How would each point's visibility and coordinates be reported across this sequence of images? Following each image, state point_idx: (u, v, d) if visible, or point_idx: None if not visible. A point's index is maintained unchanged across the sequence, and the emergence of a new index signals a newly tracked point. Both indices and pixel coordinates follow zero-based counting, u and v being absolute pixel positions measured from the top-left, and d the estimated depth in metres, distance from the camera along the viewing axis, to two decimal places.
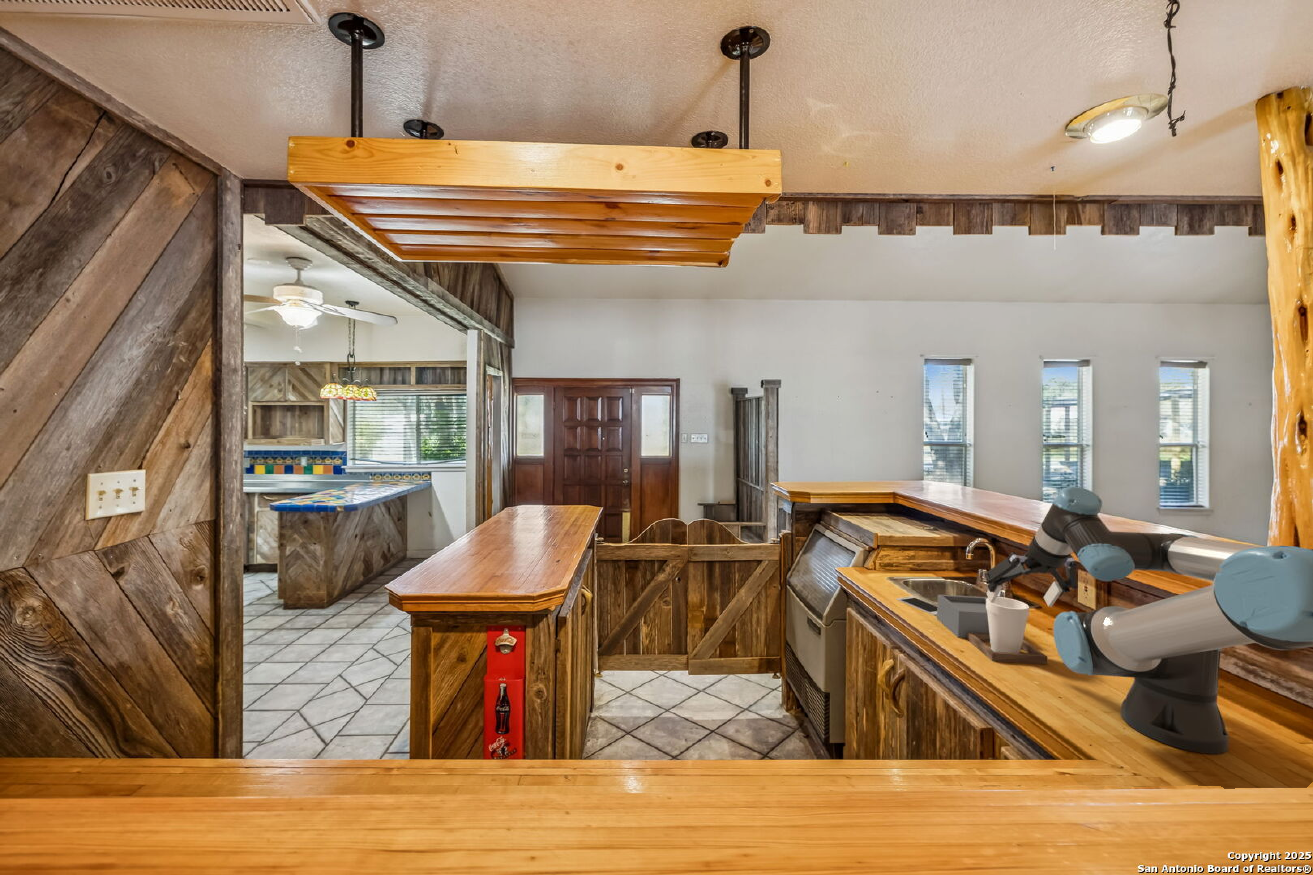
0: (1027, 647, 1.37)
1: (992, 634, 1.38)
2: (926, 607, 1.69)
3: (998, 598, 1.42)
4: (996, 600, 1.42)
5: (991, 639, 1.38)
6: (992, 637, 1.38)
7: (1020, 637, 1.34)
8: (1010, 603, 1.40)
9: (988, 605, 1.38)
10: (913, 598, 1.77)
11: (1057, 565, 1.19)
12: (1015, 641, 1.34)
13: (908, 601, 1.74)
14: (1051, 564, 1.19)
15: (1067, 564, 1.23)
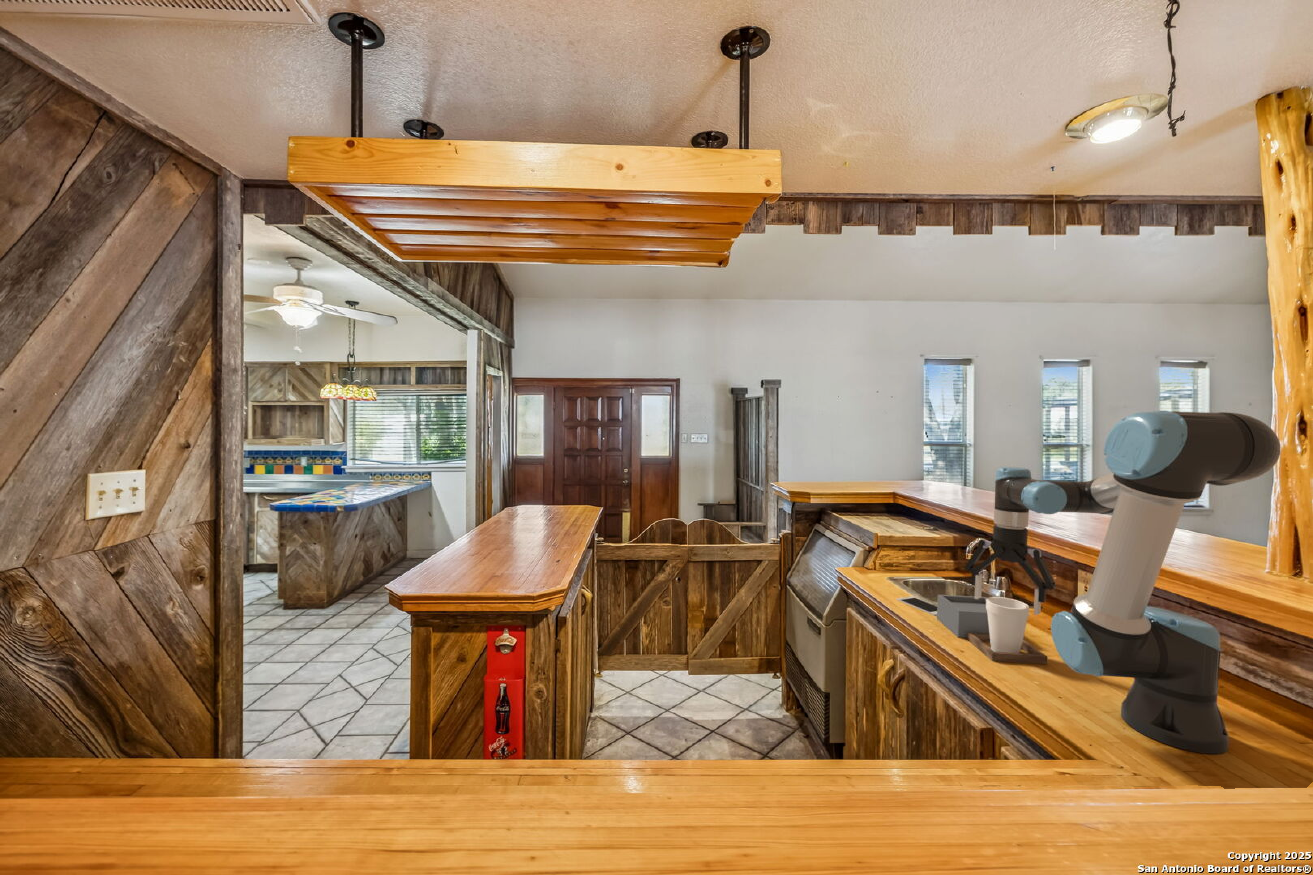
0: (1027, 647, 1.37)
1: (992, 634, 1.38)
2: (926, 607, 1.69)
3: (998, 598, 1.42)
4: (996, 600, 1.42)
5: (991, 639, 1.38)
6: (992, 637, 1.38)
7: (1020, 637, 1.34)
8: (1010, 603, 1.40)
9: (988, 605, 1.38)
10: (913, 598, 1.77)
11: (1006, 540, 1.34)
12: (1015, 641, 1.34)
13: (908, 601, 1.74)
14: (1001, 538, 1.35)
15: (1032, 554, 1.33)
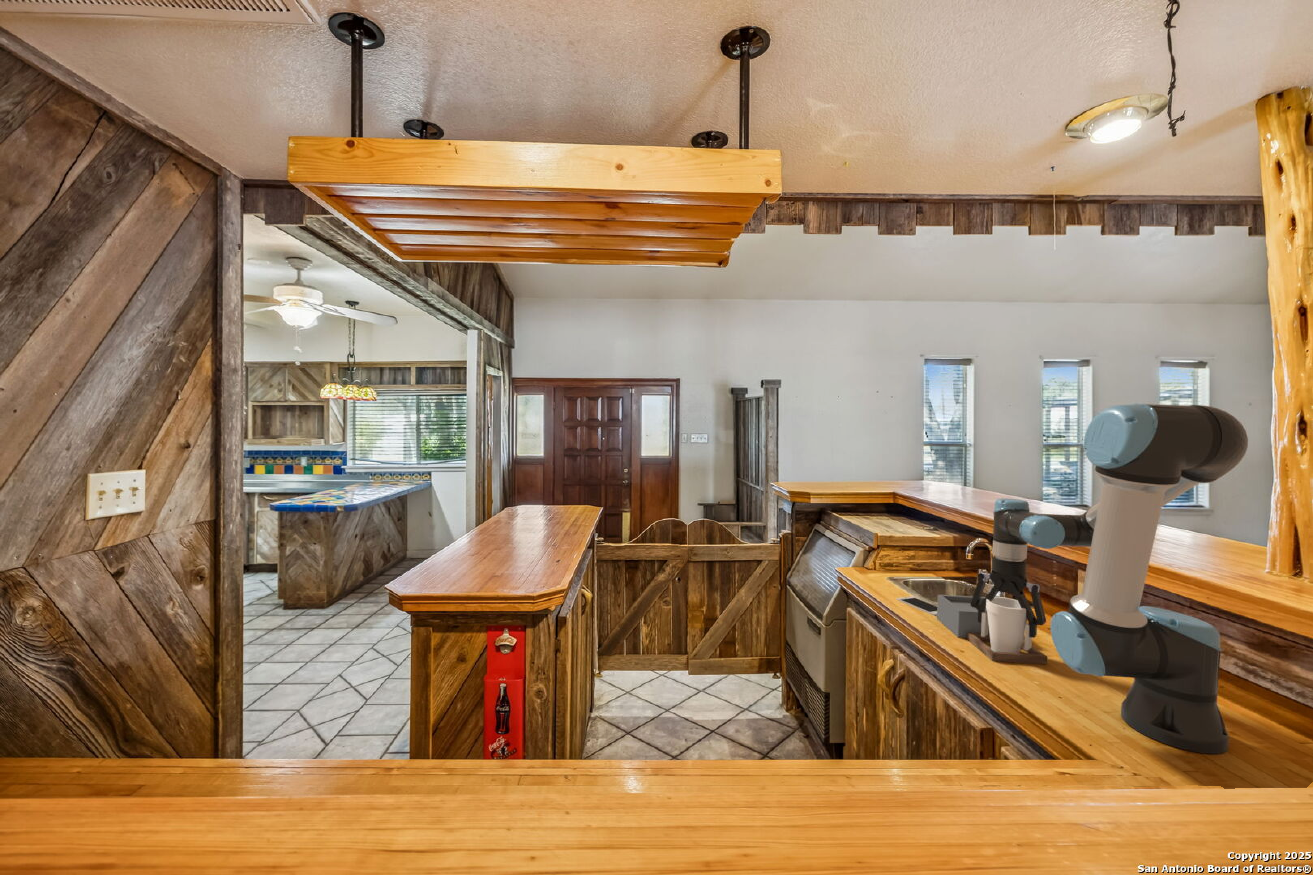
0: None
1: (992, 634, 1.38)
2: (926, 607, 1.69)
3: (998, 598, 1.42)
4: (996, 600, 1.42)
5: (991, 639, 1.38)
6: (992, 637, 1.38)
7: (1020, 637, 1.34)
8: (1010, 603, 1.40)
9: (988, 605, 1.38)
10: (913, 598, 1.77)
11: (1005, 572, 1.34)
12: (1015, 641, 1.34)
13: (908, 601, 1.74)
14: (1000, 570, 1.36)
15: (1030, 588, 1.33)
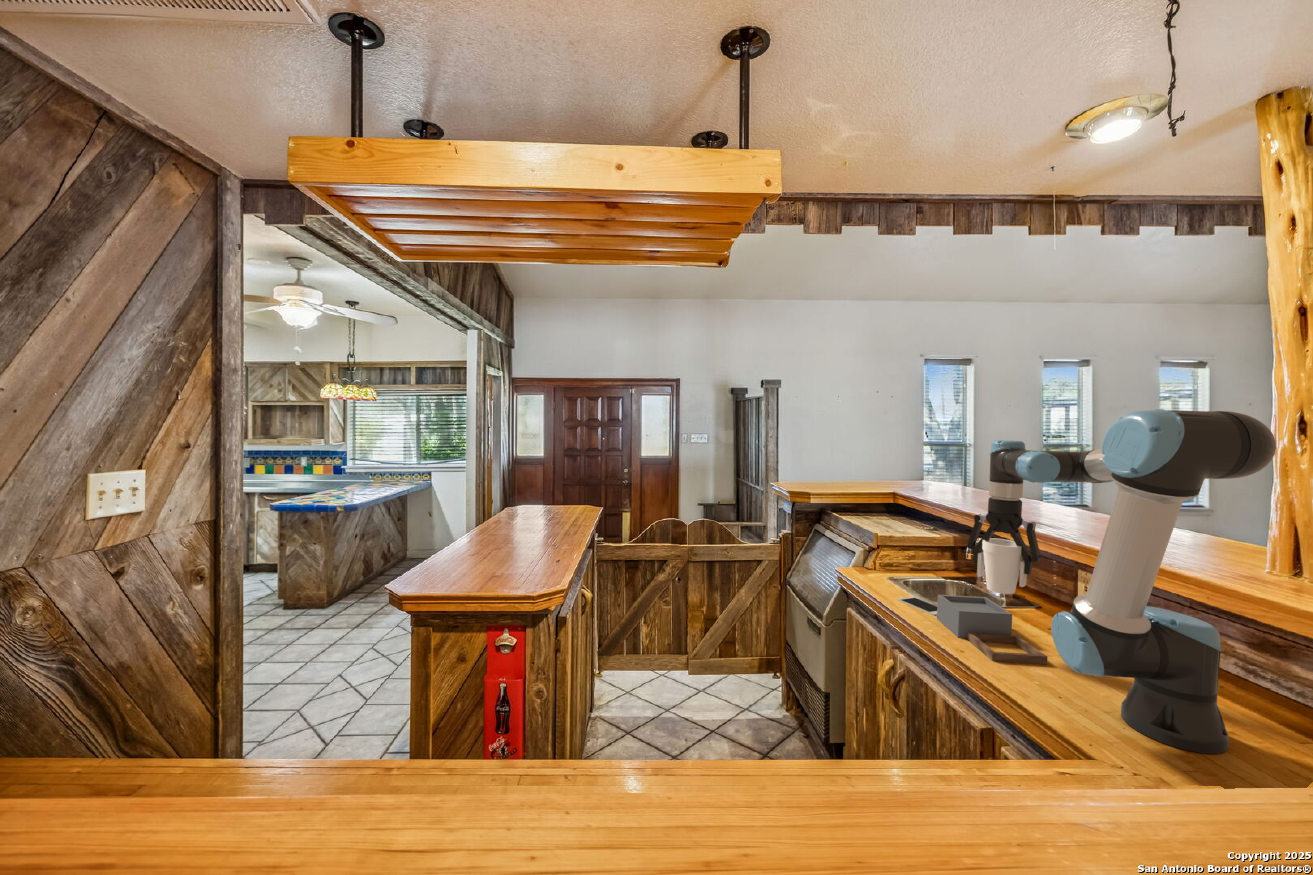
0: (1027, 647, 1.37)
1: (988, 573, 1.40)
2: (926, 607, 1.69)
3: (994, 539, 1.44)
4: (992, 541, 1.44)
5: (987, 578, 1.41)
6: (988, 576, 1.40)
7: (1015, 575, 1.37)
8: (1006, 544, 1.43)
9: (984, 545, 1.40)
10: (913, 598, 1.77)
11: (1001, 511, 1.37)
12: (1011, 579, 1.37)
13: (908, 601, 1.74)
14: (996, 509, 1.38)
15: (1025, 526, 1.35)
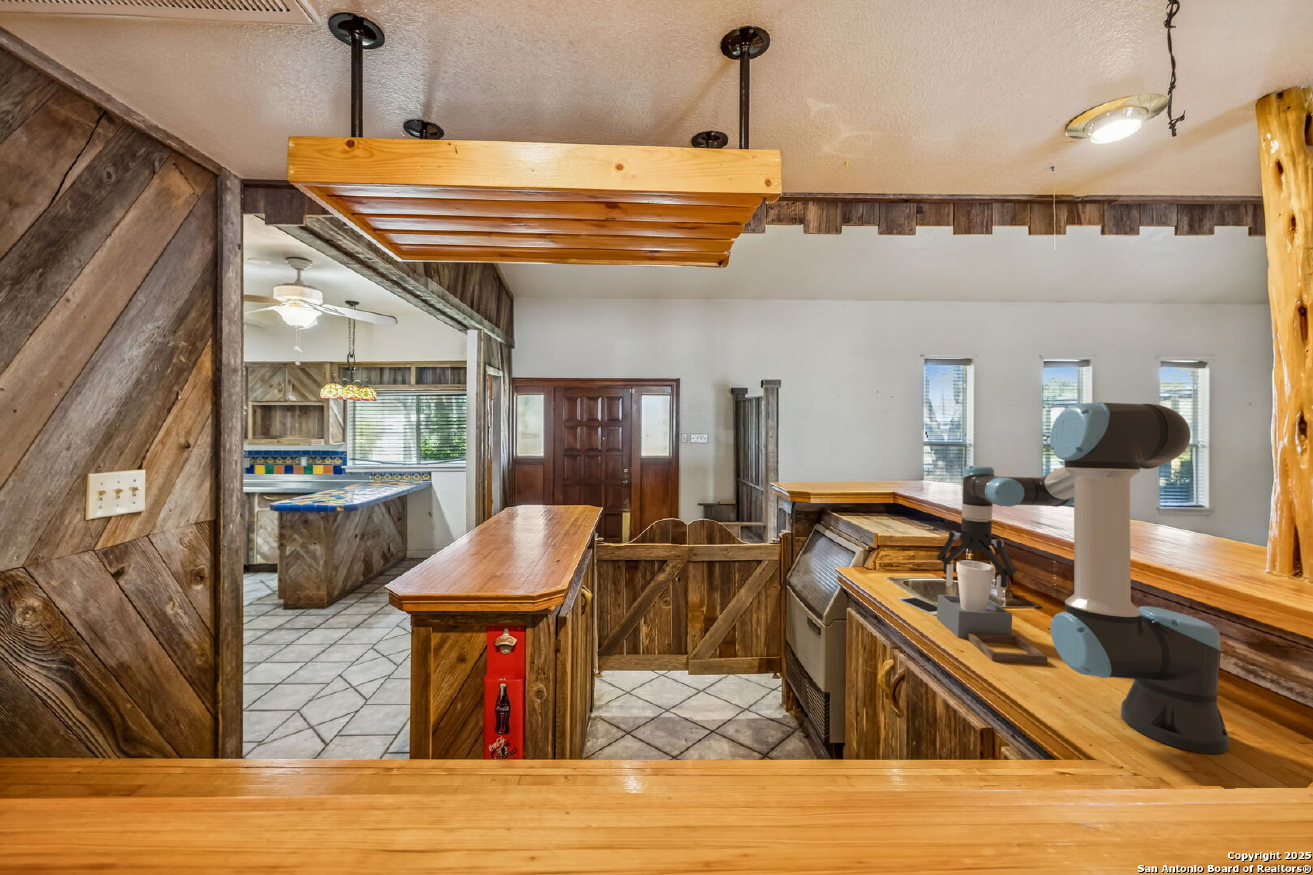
0: (1027, 647, 1.37)
1: (961, 593, 1.52)
2: (926, 607, 1.69)
3: (967, 561, 1.56)
4: (966, 563, 1.56)
5: (960, 598, 1.53)
6: (961, 596, 1.52)
7: (986, 595, 1.48)
8: (978, 566, 1.54)
9: (958, 567, 1.52)
10: (913, 598, 1.77)
11: (973, 531, 1.49)
12: (982, 599, 1.48)
13: (908, 601, 1.74)
14: (968, 529, 1.50)
15: (995, 543, 1.47)
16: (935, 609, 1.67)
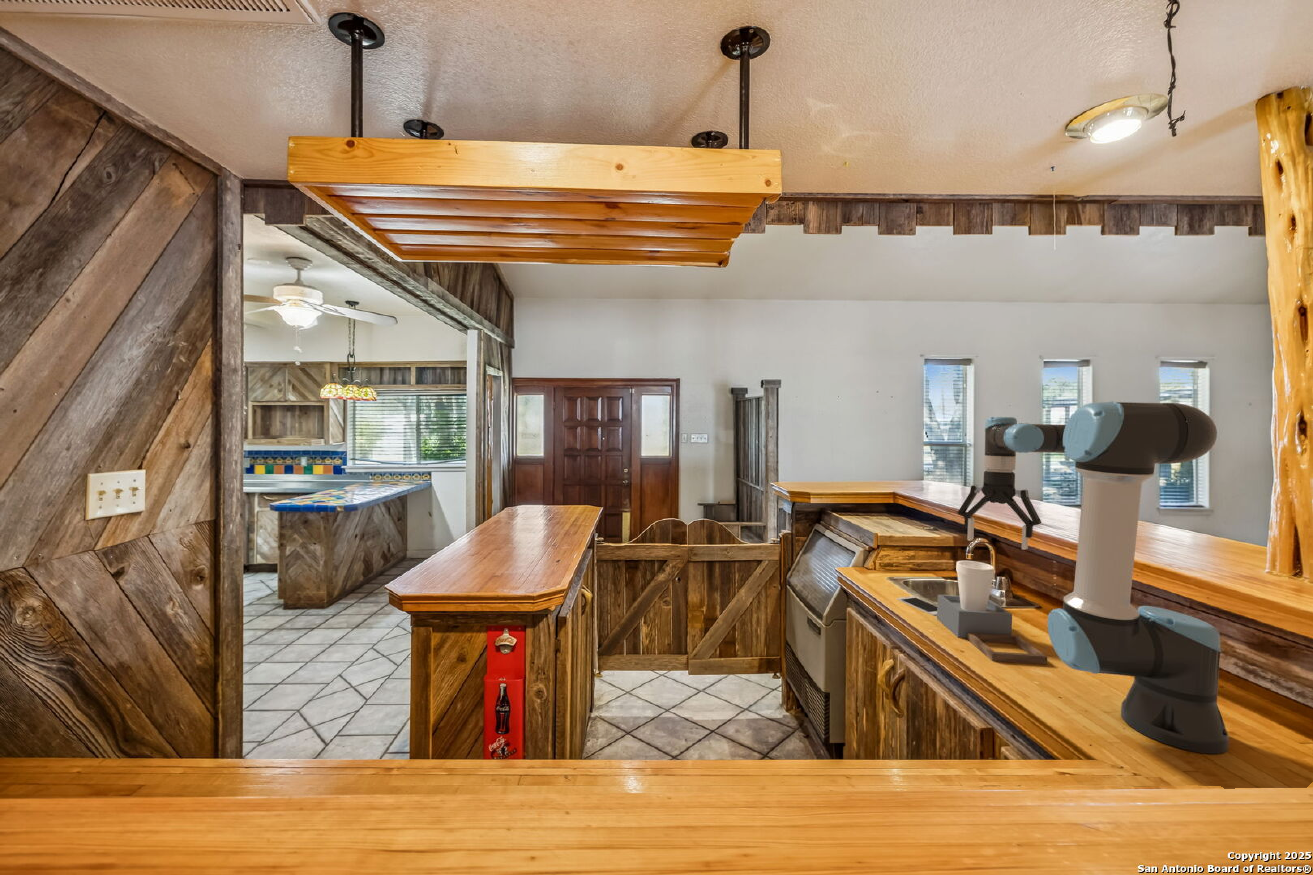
0: (1027, 647, 1.37)
1: (961, 593, 1.52)
2: (926, 607, 1.69)
3: (967, 561, 1.56)
4: (965, 563, 1.56)
5: (960, 598, 1.53)
6: (961, 596, 1.52)
7: (986, 595, 1.49)
8: (978, 566, 1.55)
9: (958, 567, 1.52)
10: (914, 598, 1.77)
11: (996, 482, 1.47)
12: (982, 599, 1.48)
13: (908, 601, 1.74)
14: (991, 481, 1.48)
15: (1019, 494, 1.45)
16: (935, 609, 1.67)
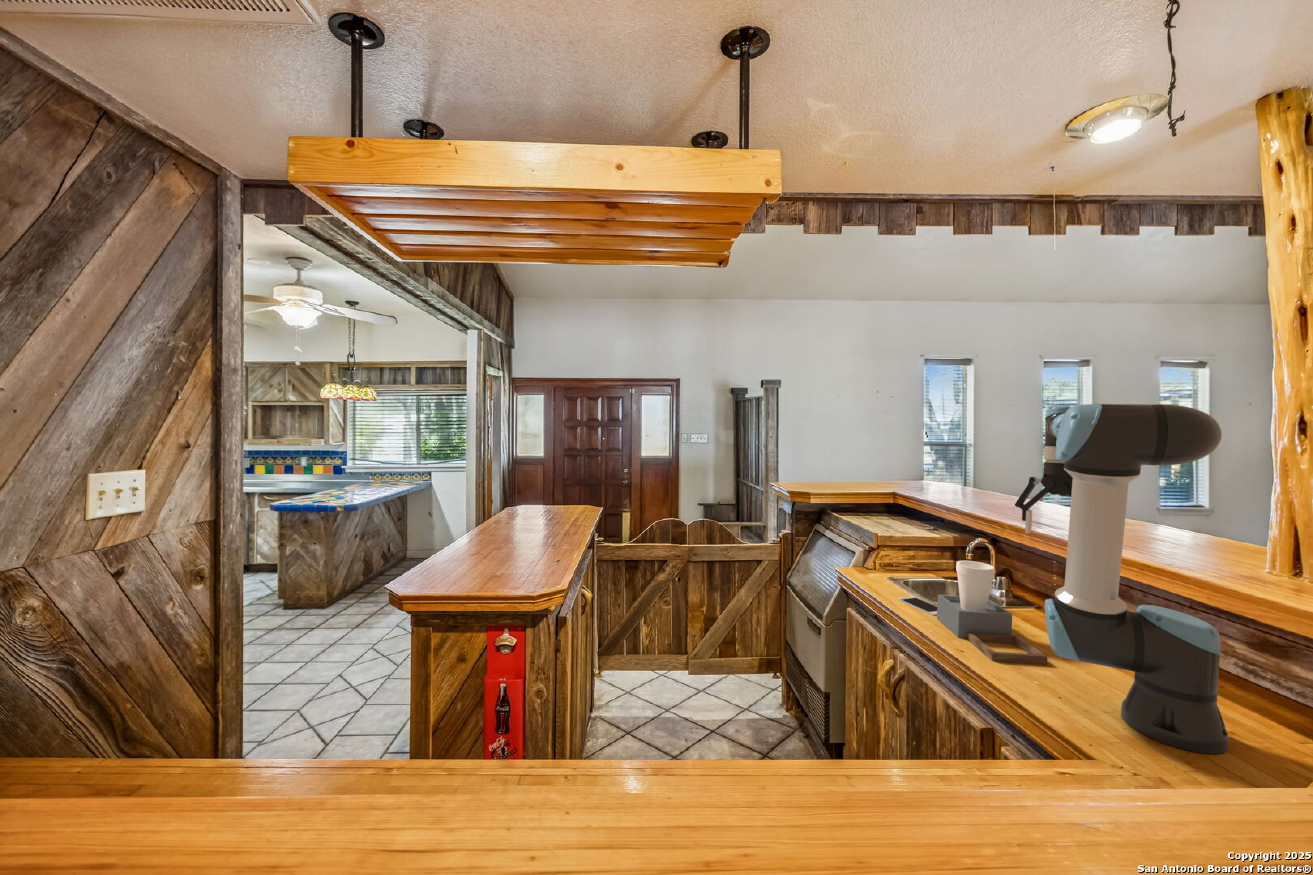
0: (1027, 647, 1.37)
1: (961, 593, 1.52)
2: (926, 607, 1.69)
3: (967, 561, 1.56)
4: (965, 563, 1.56)
5: (960, 598, 1.53)
6: (961, 596, 1.52)
7: (986, 595, 1.49)
8: (978, 566, 1.55)
9: (958, 567, 1.52)
10: (914, 598, 1.77)
11: (1058, 473, 1.43)
12: (982, 599, 1.48)
13: (908, 601, 1.74)
14: (1052, 472, 1.44)
15: None
16: (935, 609, 1.67)
